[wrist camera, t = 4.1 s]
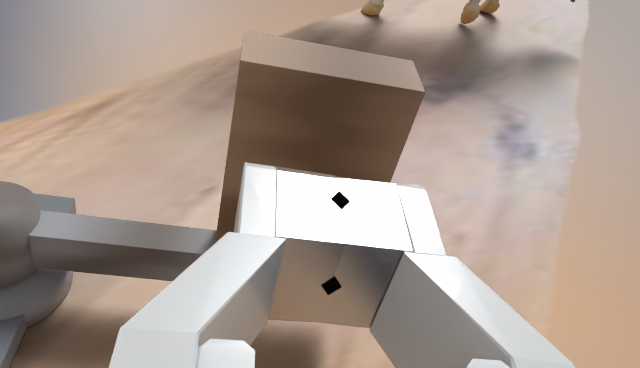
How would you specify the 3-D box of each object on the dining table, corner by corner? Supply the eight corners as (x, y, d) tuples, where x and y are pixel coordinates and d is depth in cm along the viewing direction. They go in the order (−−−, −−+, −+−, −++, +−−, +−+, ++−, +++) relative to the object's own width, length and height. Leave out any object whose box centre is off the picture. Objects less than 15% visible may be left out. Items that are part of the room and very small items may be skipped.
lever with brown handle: (-371, 258, 16) (-656, -76, 10) (-285, 188, 19) (-477, -114, 13) (343, 323, 20) (430, 105, 14) (336, 258, 23) (408, 50, 17)
